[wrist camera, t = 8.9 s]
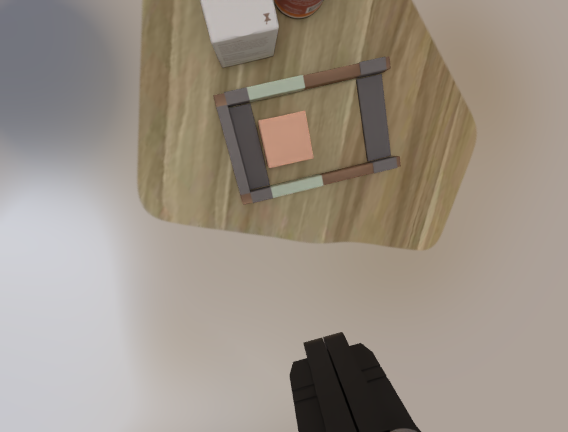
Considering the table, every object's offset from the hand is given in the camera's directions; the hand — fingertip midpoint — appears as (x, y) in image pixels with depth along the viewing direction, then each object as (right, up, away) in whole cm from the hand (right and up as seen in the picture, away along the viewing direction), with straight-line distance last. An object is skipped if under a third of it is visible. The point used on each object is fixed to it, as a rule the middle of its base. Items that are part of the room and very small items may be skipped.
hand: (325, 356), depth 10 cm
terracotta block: (-2, +14, +22) cm, 27 cm away
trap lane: (+2, +15, +22) cm, 27 cm away
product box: (-6, +25, +19) cm, 32 cm away
